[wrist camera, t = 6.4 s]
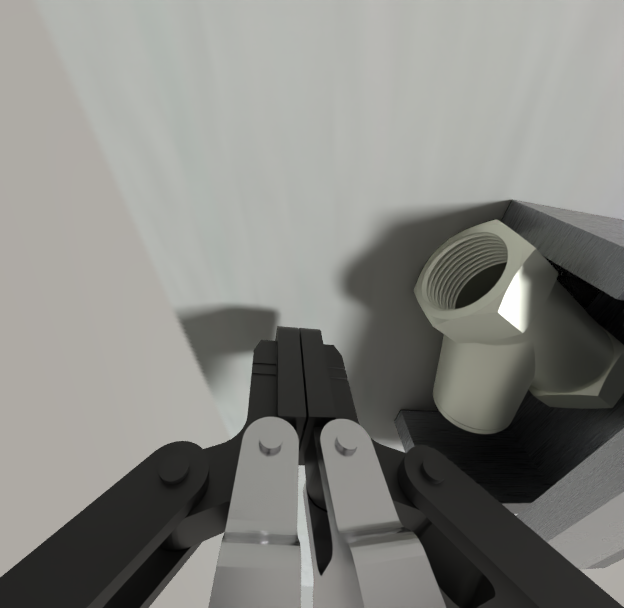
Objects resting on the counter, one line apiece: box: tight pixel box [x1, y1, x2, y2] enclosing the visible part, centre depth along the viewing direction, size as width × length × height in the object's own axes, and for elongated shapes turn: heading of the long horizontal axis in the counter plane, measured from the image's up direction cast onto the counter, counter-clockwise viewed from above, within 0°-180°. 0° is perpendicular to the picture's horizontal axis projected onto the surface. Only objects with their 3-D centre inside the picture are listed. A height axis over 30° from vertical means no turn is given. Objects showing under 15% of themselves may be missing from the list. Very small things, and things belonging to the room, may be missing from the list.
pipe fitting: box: [414, 219, 624, 434], centre depth 12 cm, size 8×4×7 cm
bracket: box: [395, 200, 624, 569], centre depth 11 cm, size 12×7×6 cm, turn 170°
